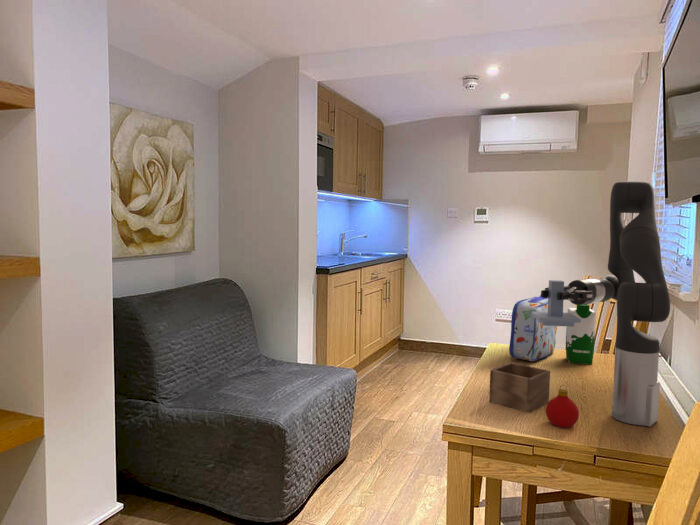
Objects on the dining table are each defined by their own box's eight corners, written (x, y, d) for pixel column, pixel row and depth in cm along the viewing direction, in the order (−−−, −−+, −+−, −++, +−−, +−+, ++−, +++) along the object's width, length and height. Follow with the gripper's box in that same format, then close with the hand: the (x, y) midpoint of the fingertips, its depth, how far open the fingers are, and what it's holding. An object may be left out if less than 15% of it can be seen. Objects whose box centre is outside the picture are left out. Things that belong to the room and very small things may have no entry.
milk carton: (567, 363, 176) (570, 305, 175) (563, 357, 185) (565, 301, 184) (595, 365, 175) (598, 306, 173) (589, 358, 183) (592, 302, 182)
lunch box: (531, 346, 200) (533, 289, 198) (559, 351, 194) (562, 292, 192) (505, 361, 178) (507, 297, 177) (535, 366, 172) (538, 300, 170)
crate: (548, 404, 136) (550, 370, 135) (529, 415, 128) (530, 379, 127) (509, 394, 144) (510, 362, 143) (489, 404, 136) (490, 370, 135)
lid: (580, 327, 146) (582, 283, 145) (539, 326, 147) (540, 282, 146) (569, 320, 156) (571, 279, 156) (531, 319, 158) (532, 278, 157)
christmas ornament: (574, 422, 124) (576, 381, 123) (581, 434, 117) (583, 391, 116) (542, 420, 125) (544, 379, 124) (547, 431, 118) (549, 388, 118)
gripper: (565, 277, 165) (529, 279, 156) (608, 281, 152) (572, 284, 143) (564, 301, 165) (529, 304, 156) (607, 307, 153) (571, 311, 144)
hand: (550, 295), depth 150 cm, fingers closed on lid, 4 cm apart
